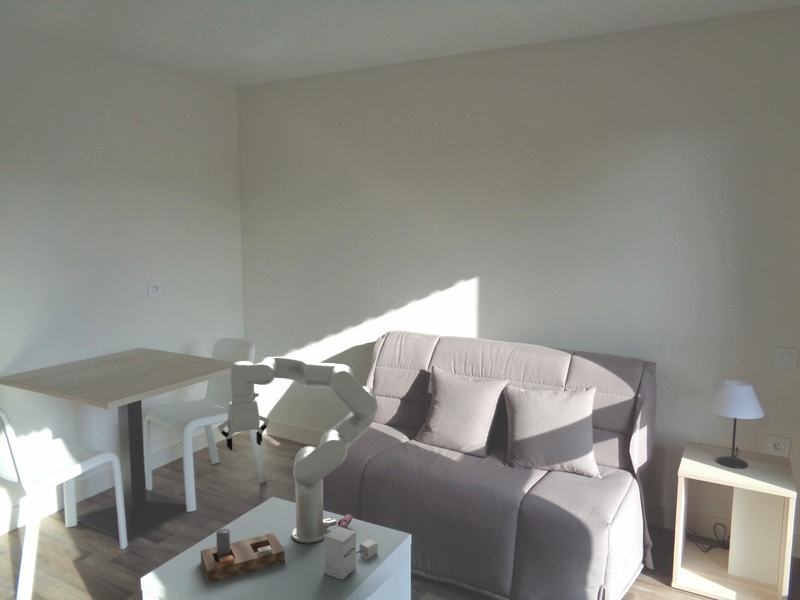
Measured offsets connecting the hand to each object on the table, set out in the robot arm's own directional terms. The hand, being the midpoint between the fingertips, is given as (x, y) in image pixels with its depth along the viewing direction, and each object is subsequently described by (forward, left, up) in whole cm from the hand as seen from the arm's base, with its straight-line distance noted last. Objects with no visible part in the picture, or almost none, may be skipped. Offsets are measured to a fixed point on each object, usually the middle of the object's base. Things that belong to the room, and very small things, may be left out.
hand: (244, 446), depth 200 cm
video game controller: (-31, +12, -34) cm, 47 cm away
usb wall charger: (-32, +30, -34) cm, 55 cm away
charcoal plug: (+11, +14, -33) cm, 38 cm away
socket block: (+5, +14, -33) cm, 37 cm away
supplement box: (-21, +34, -34) cm, 52 cm away
